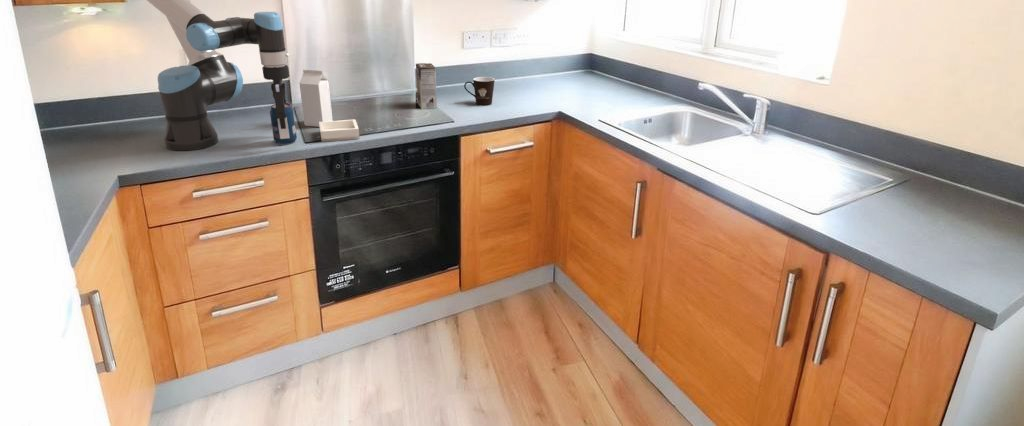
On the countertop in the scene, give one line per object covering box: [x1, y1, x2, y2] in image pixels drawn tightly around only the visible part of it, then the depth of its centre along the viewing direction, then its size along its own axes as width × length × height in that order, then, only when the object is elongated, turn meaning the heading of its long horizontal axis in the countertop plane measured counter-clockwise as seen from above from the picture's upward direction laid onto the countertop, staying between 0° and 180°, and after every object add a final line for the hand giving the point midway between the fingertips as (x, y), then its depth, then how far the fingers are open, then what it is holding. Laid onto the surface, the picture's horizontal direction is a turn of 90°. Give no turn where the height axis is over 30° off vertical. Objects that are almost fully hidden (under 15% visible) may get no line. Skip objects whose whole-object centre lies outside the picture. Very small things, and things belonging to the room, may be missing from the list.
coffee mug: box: [463, 76, 495, 107], centre depth 244 cm, size 12×9×10 cm
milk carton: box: [298, 69, 334, 128], centre depth 210 cm, size 7×7×19 cm
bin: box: [319, 119, 360, 143], centre depth 201 cm, size 12×12×4 cm
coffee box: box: [415, 62, 438, 110], centre depth 237 cm, size 9×6×16 cm
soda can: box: [269, 102, 297, 146], centre depth 192 cm, size 7×7×12 cm
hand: (285, 132), depth 193 cm, fingers open, 13 cm apart
